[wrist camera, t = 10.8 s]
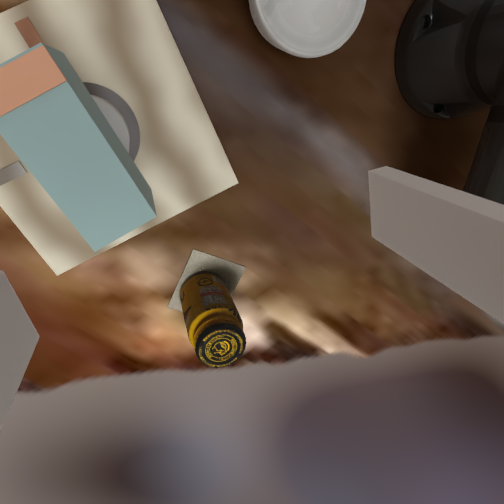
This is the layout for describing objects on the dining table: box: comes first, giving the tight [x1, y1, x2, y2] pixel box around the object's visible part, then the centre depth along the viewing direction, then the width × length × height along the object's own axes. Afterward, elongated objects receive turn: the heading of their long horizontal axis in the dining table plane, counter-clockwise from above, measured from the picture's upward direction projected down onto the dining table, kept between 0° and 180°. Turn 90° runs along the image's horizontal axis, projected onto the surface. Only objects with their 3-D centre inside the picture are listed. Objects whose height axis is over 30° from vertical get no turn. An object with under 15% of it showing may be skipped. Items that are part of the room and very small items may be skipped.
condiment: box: [168, 249, 246, 368], centre depth 43 cm, size 7×8×12 cm
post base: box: [0, 0, 238, 276], centre depth 37 cm, size 22×22×2 cm
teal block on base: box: [0, 43, 157, 252], centre depth 30 cm, size 12×7×14 cm, turn 26°
